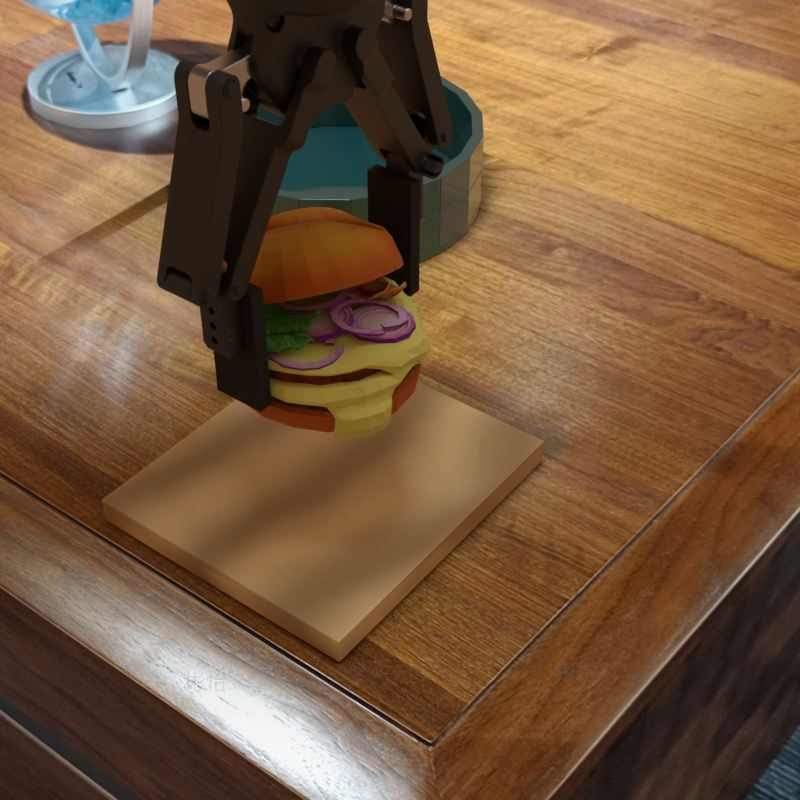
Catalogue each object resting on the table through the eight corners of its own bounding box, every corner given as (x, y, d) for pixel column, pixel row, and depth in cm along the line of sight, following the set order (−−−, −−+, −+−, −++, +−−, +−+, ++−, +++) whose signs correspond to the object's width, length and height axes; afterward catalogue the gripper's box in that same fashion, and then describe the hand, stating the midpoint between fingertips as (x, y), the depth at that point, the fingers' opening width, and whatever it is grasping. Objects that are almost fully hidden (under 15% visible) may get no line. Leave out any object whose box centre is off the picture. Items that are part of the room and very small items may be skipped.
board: (104, 520, 72) (100, 499, 71) (321, 355, 83) (320, 335, 82) (339, 663, 64) (338, 642, 63) (542, 460, 75) (544, 440, 74)
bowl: (131, 211, 96) (120, 135, 92) (317, 103, 108) (314, 32, 104) (359, 315, 86) (358, 235, 82) (534, 183, 99) (540, 108, 95)
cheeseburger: (268, 477, 62) (232, 275, 58) (204, 392, 71) (169, 212, 67) (465, 418, 65) (446, 222, 61) (380, 343, 74) (358, 168, 70)
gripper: (159, 8, 44) (217, 499, 58) (543, -168, 58) (516, 259, 72) (6, -45, 48) (95, 430, 61) (404, -199, 62) (403, 214, 76)
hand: (323, 338), depth 67 cm, fingers closed on cheeseburger, 11 cm apart
